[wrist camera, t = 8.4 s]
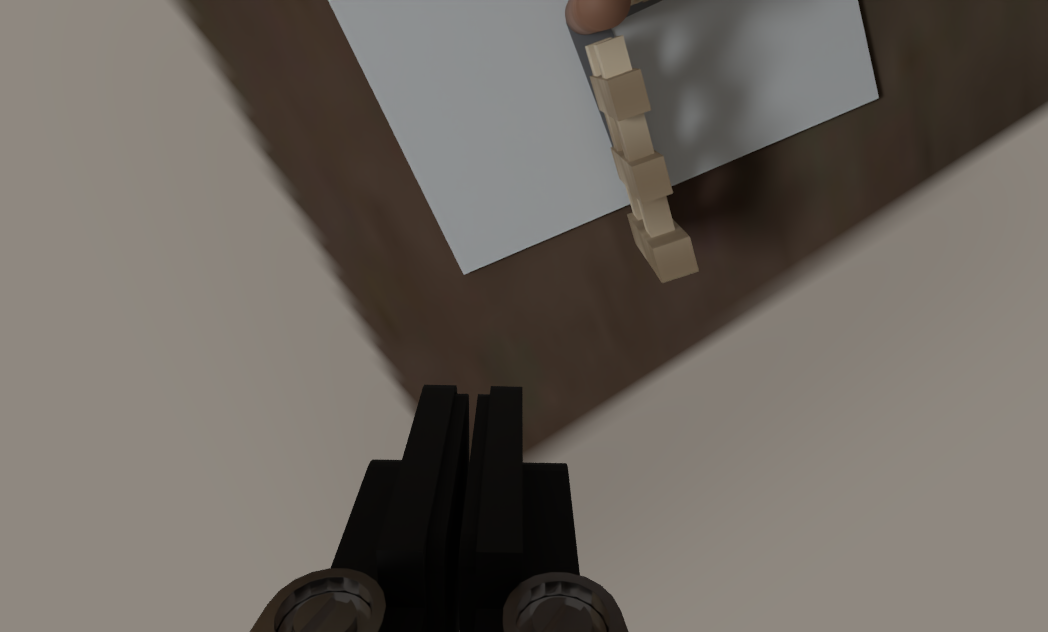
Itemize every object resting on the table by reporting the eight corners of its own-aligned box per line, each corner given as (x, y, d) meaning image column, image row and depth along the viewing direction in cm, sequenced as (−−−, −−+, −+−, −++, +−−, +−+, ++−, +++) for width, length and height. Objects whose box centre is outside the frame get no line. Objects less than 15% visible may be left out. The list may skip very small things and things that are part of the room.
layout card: (776, -353, 20) (781, -361, 19) (874, 97, 24) (880, 98, 24) (283, -94, 22) (280, -96, 21) (464, 272, 27) (463, 275, 26)
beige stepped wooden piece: (559, -1, 22) (573, -17, 18) (598, -16, 22) (623, -36, 17) (631, 241, 26) (659, 284, 21) (665, 229, 26) (701, 270, 21)
